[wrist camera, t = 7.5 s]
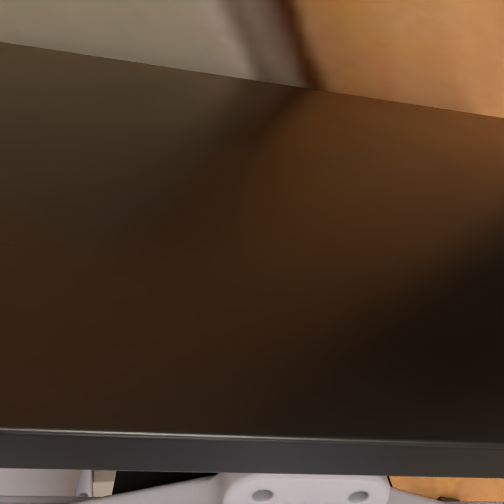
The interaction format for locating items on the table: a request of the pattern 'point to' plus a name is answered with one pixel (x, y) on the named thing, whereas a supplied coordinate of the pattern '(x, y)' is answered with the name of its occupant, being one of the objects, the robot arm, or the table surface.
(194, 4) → the table surface
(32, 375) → the screen
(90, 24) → the table surface
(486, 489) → the table surface
